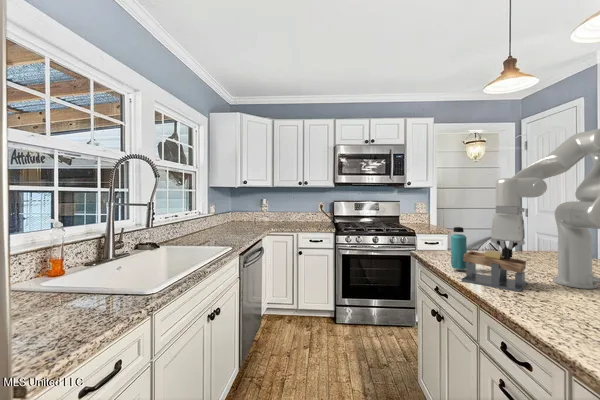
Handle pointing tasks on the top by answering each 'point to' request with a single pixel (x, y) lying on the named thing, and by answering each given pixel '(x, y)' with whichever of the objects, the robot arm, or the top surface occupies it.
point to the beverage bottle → (458, 249)
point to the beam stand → (495, 278)
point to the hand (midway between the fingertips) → (507, 258)
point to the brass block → (494, 255)
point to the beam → (495, 261)
